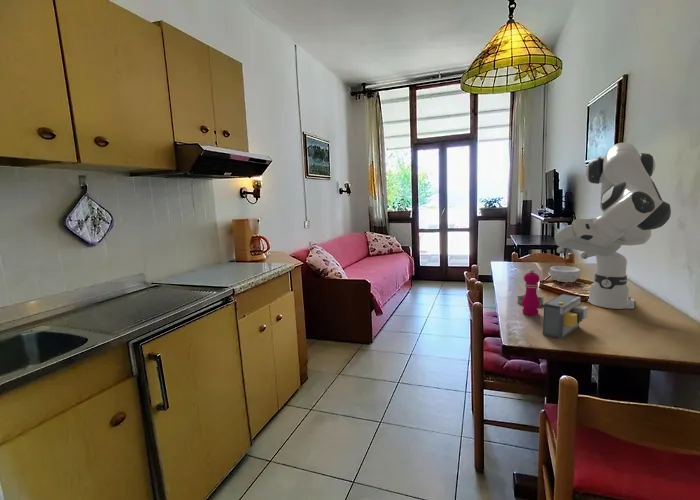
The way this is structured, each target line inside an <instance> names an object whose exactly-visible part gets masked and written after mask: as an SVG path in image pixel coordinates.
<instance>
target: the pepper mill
mask: <svg viewBox="0 0 700 500" xmlns="http://www.w3.org/2000/svg"><path fill="white" fill-rule="evenodd" d="M523 280H524V282H525V283H524V284H525V285H524V287H525V289H526V290H525V294H524V295H525V296H524V297H523V299H522V304H521V306H522V314H524V315H527V316H533V317H535V316H538V315H539V307H540V302H539V299H538V297H539V296H538V295H537V288H538V287H539V284H538V283H539V282H540V276H539V274H537V273H536V272H535V269H533V268H531V269H529V272H527V273H525V275H524V276H523Z"/></svg>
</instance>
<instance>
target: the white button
mask: <svg viewBox="0 0 700 500" xmlns="http://www.w3.org/2000/svg"><path fill="white" fill-rule="evenodd" d="M588 308H589V307H588V306H584V305H580V306H579V305H577V306H576V307H575V309H578V310H583V314H582V320H585V319H586V318H588Z"/></svg>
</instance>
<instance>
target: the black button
mask: <svg viewBox="0 0 700 500" xmlns="http://www.w3.org/2000/svg"><path fill="white" fill-rule="evenodd" d="M570 313H575V314H577V323H579V324H580V323H581V322H582V321H583V319H582V314H583V310H578V309H573V308H572V309H571V310H570Z"/></svg>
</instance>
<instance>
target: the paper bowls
mask: <svg viewBox="0 0 700 500" xmlns="http://www.w3.org/2000/svg"><path fill="white" fill-rule="evenodd" d="M549 276H550V277H551V278H552V279H553V280H557V281H562V282H574V283H575V282H576V281H577V280H579V279H580V277H581V269H580V268H577V267H574V266H564V265H557V266H551V267H550V268H549Z"/></svg>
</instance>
